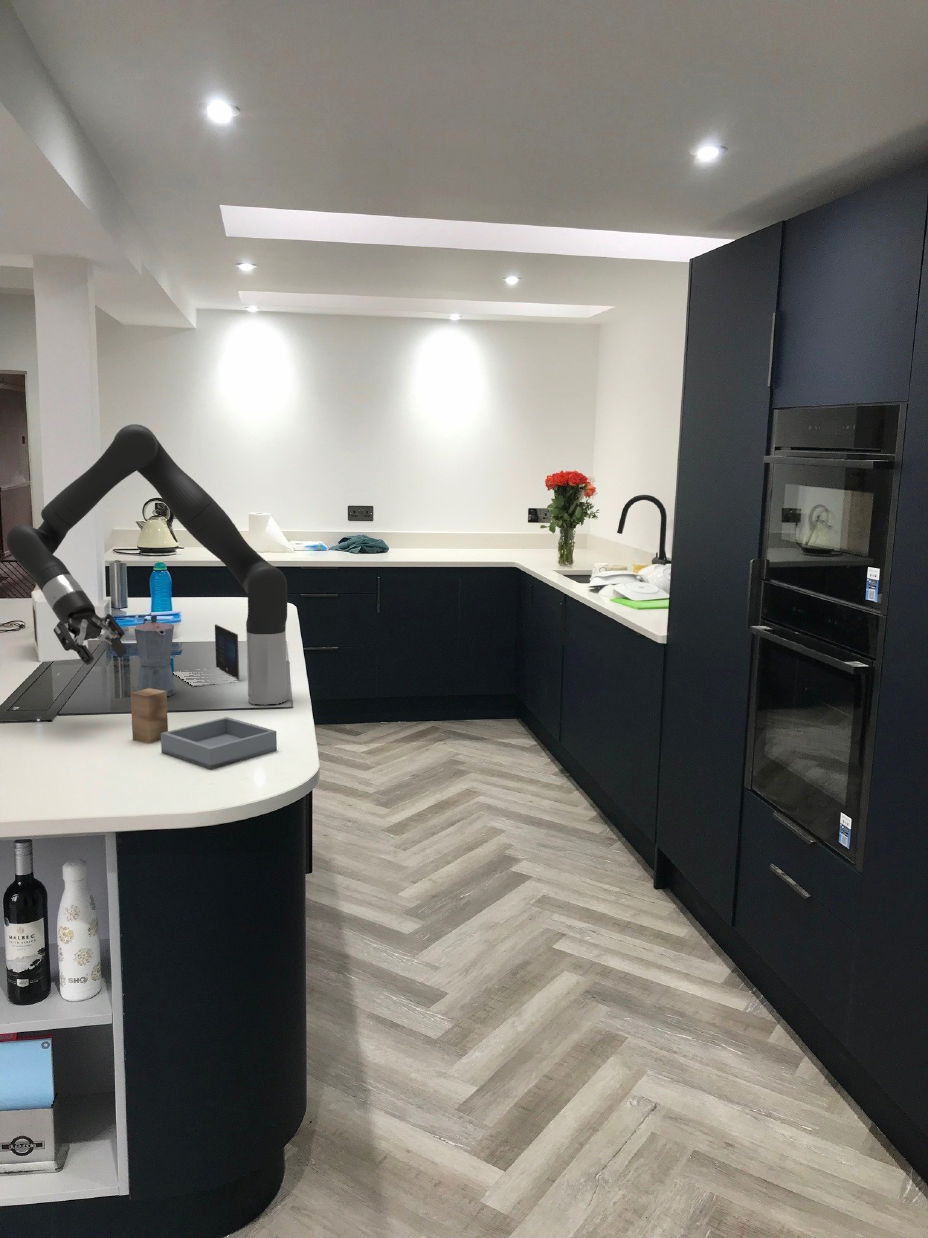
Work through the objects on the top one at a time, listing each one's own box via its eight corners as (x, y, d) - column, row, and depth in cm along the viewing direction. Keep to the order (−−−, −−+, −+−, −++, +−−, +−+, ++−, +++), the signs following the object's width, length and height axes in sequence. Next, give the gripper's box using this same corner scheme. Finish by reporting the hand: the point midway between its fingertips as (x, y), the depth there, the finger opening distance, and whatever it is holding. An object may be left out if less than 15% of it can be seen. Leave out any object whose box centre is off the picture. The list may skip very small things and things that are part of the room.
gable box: (88, 658, 275) (83, 562, 270) (39, 662, 269) (32, 564, 264) (81, 645, 294) (76, 555, 290) (34, 648, 288) (29, 556, 284)
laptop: (172, 675, 257) (170, 627, 255) (217, 669, 264) (216, 623, 262) (192, 688, 242) (190, 638, 240) (240, 683, 249) (238, 634, 247)
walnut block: (151, 733, 201) (149, 688, 200) (168, 737, 199) (166, 691, 197) (132, 739, 197) (130, 693, 195) (149, 743, 195) (147, 696, 193)
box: (227, 735, 201) (226, 716, 200) (276, 750, 191) (276, 731, 190) (161, 752, 189) (160, 733, 188) (210, 769, 179) (209, 749, 178)
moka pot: (148, 703, 226) (144, 620, 222) (124, 691, 237) (120, 612, 234) (186, 697, 232) (183, 617, 228) (161, 685, 243) (158, 608, 240)
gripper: (47, 592, 196) (87, 653, 193) (103, 585, 209) (142, 642, 205) (31, 615, 200) (71, 675, 196) (87, 607, 212) (125, 663, 209)
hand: (107, 658), depth 201 cm, fingers open, 8 cm apart
